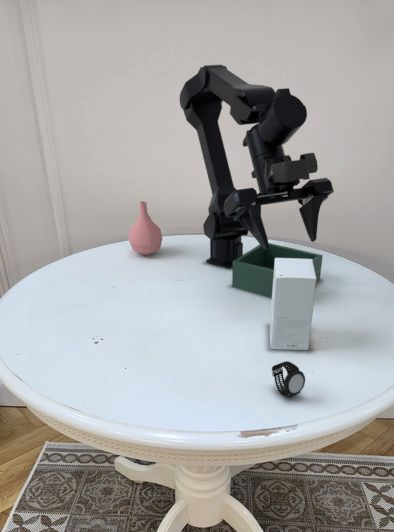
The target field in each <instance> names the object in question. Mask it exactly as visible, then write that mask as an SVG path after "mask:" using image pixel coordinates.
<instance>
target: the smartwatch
mask: <svg viewBox="0 0 394 532" xmlns="http://www.w3.org/2000/svg"><path fill="white" fill-rule="evenodd" d="M283 368H284V369H285V371H286V376H285V378H284V369H283ZM271 375H272V377H274V383H275V386H276V388H277V391H278V392H279V394H280V395H281V396H283V397H285V398H288V399H289V398H293V397H295V396H297V395H299V394H301V391H302V390H303V389H304V386H305V384H306V376H305V374H304V372H303V371H301V370H300V368H299V366H297V365H296V364H294V363H292V362H291V361H289V360H286V361H282V362H280V363H277V364H274V365H273V366H272V367H271Z"/></svg>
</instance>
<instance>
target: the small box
mask: <svg viewBox="0 0 394 532" xmlns="http://www.w3.org/2000/svg"><path fill="white" fill-rule="evenodd" d="M316 280H317V278H316V274H315V269H314V264H313V260H312V259H298V258H275V262H274V276H273V289H272V298H271V306H270V317H269V342H270V349H271V350H292V351H309V349H310V341H311V330H312V322H313V321H312V320H313V313H314V304H315V297H316V296H315V293H316V287H317V283H316Z"/></svg>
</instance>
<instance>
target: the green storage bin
mask: <svg viewBox="0 0 394 532" xmlns="http://www.w3.org/2000/svg"><path fill="white" fill-rule="evenodd" d="M268 244H269V249H267V250H264V248H263V247H262V246H261V245H260V244H258V245H256V246H255V247H253V248H252V249H250V250H248V251H247V252H245V253H244V254H243V255H242V256H240V257H239V258H237V259H236V260H234V261H233V267H232V268H231V269H232V273H231V274H232V276H231V277H232V278H231V287H232V288H234V289H235V288H236V289H239V290H242V291H247V292H249V293H253V294H257V295H260V296H262V297H263V296H264V297H267V298H271V299H272V289H273V276H274V262H275V258H298V259H312V260H313V264H314V269H315V274H316V278H317V280H316V284H317V283H318V282H319V281H321V273H322V266H323V265H322V264H323V257H324V255H323V254H319V253H315V252H312V251H307V250H301V249H297V248H293V247H289V246H284V245H280V244H276V243H271V242H268Z"/></svg>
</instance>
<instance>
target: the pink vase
mask: <svg viewBox="0 0 394 532" xmlns="http://www.w3.org/2000/svg"><path fill="white" fill-rule="evenodd" d="M128 242H129V244H130V247H131V250H132V251H133V252H134V253H137V254H142V256H150V255H152V254H153V253H156V252H158V251H159V250H161V246H162V242H163V235H162V230H161V228H160V227H159V226H158V224H157V223H155V222H154V221H153V220H152V218H151V216H150V215H149V213H148V203H147V201H140V202H139V215H138V217H137V220H136V222H134V224H133V226H132V227H131V228H130V229H129V235H128Z"/></svg>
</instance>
